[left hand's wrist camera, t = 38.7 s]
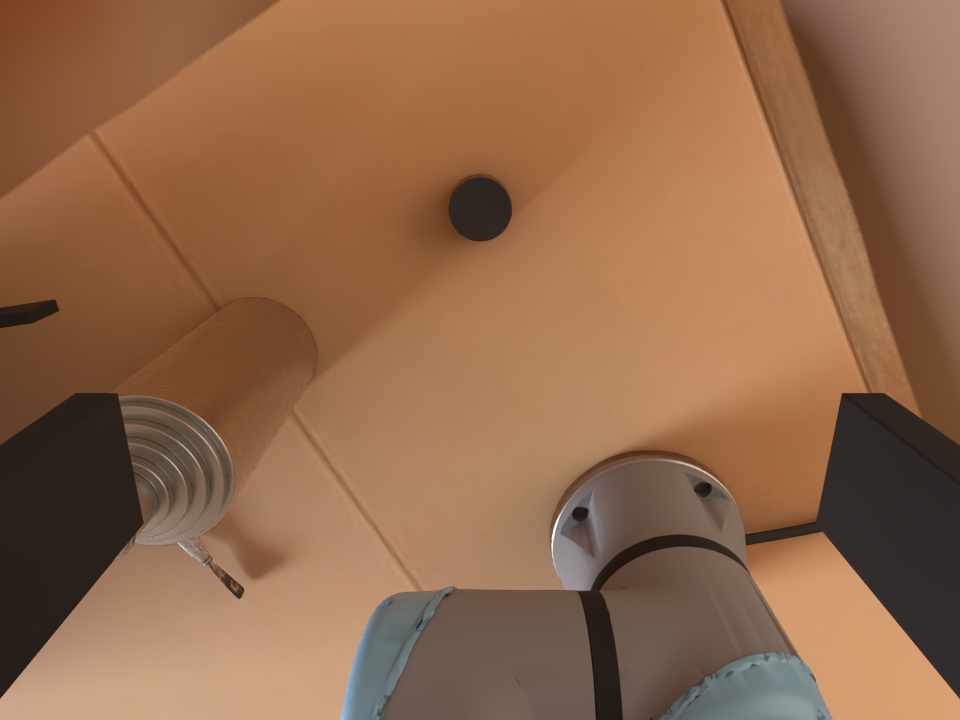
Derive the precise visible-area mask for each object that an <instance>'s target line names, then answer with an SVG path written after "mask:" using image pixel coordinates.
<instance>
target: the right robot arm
mask: <svg viewBox="0 0 960 720" xmlns="http://www.w3.org/2000/svg"><path fill="white" fill-rule="evenodd" d="M58 311H59V309H58V306H57V303H56V301H55V300H49V301H42V302H36V303H29V304H23V305H16V306H10V307H3V308H0V328H3V327H9V326H16V325H23V324H29V323H34V322H36V321H38V320H41V319H43V318H45V317H47V316H49V315H51V314H53V313H55V312H58Z"/></svg>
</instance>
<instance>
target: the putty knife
mask: <svg viewBox="0 0 960 720" xmlns="http://www.w3.org/2000/svg"><path fill="white" fill-rule="evenodd" d="M178 544H179V545H180V546H181V547H182V548H183V549H184V550H185V551H186V552H187V553H189V554H190V555H191V556H192V557H194V558H195V559H196V560H198V561H199V562H201V563H203V564H204V565H209V567H210V568H211V569H212V570H213V572H214V573H215V574H216V575H217V576H218V578H219V579H220V580H221V581H222V582H223V583H224V584H225V586H226V587H227V588H228V589H229V590H230V591H231V592H232V593H233V594H234V595H235V596H236V597H237V598H238V599H240V598H241V597H242V595H243V592H244V589H243V587H242V586H241V585H240V584H238V583H237V582H236V581H235V580H234V579H233V578H232V577H230V576H229V575H228V574H227V573H226V572H225V571H224V570H222V569H221V568H220V567H219V566H217V565H216V564H215V563H213V562H212V557H211V556H210V555H209V553H208V552H207V550H206V549H205V548H204V546H203V545H202V544H201V543H200V541H199V540H198V539H197V538H194V539H191V540H188V541H184V542H180V543H178Z"/></svg>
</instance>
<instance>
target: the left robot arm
mask: <svg viewBox="0 0 960 720" xmlns="http://www.w3.org/2000/svg"><path fill="white" fill-rule="evenodd" d="M143 524H144V521H143V516H142V511H141V506H140V501H139V496H138V491H137V486H136V481H135V476H134V471H133V466H132V461H131V456H130V451H129V446H128V441H127V436H126V431H125V426H124V421H123V416H122V411H121V406H120V401H119V396H118V393H75V394H74V395H72V396H71V397H70V398H68V399H67V400H65V401H64V402H62V403H61V404H59V405H58V406H57V407H55V408H54V409H52V410H51V411H49V412H48V413H46V414H45V415H43V416H42V417H41V418H39V419H38V420H36V421H35V422H33V423H32V424H30V425H29V426H28V427H26V428H25V429H23V430H22V431H20V432H19V433H17V434H16V435H15V436H13V437H12V438H10V439H9V440H7V441H6V442H4V443H3V444H2V445H0V698H1V697H2V696H3V695H4V694H5V692H6V691H7V690H8V689H9V687H10V686H11V685H12V684H13V683H14V681H15V680H16V679H17V678H18V676H19V675H20V674H21V673H22V672H23V670H24V669H25V668H26V667H27V665H28V664H29V663H30V662H31V661H32V659H33V658H34V657H35V656H36V654H37V653H38V652H39V651H40V650H41V648H42V647H43V646H44V645H45V644H46V642H47V641H48V640H49V639H50V637H51V636H52V635H53V634H54V633H55V631H56V630H57V629H58V628H59V626H60V625H61V624H62V623H63V622H64V620H65V619H66V618H67V617H68V615H69V614H70V613H71V612H72V611H73V609H74V608H75V607H76V606H77V605H78V603H79V602H80V601H81V600H82V598H83V597H84V596H85V595H86V594H87V592H88V591H89V590H90V589H91V587H92V586H93V585H94V584H95V583H96V581H97V580H98V579H99V578H100V576H101V575H102V574H103V573H104V572H105V570H106V569H107V568H108V567H109V565H110V564H111V563H112V562H113V561H114V559H115V558H116V557H117V556H118V555H119V553H120V552H121V551H122V550H123V548H124V547H125V546H126V545H127V544H128V542H129V541H130V540H131V539H132V537H133V536H134V535H135V534H136V533H137V531H138V530H139V529H140V528H141V526H142V525H143ZM818 532H823V533H824V534H825V535H826V536H827V537H828V539H829V540H830V541H831V542H832V544H833V545H834V546H835V547H836V548H837V550H838V551H839V552H840V553H841V555H842V556H843V557H844V558H845V559H846V561H847V562H848V563H849V564H850V565H851V567H852V568H853V569H854V570H855V572H856V573H857V574H858V575H859V576H860V578H861V579H862V580H863V581H864V583H865V584H866V585H867V586H868V587H869V589H870V590H871V591H872V592H873V594H874V595H875V596H876V597H877V598H878V600H879V601H880V602H881V603H882V605H883V606H884V607H885V608H886V609H887V611H888V612H889V613H890V614H891V615H892V617H893V618H894V619H895V620H896V622H897V623H898V624H899V625H900V626H901V628H902V629H903V630H904V631H905V633H906V634H907V635H908V636H909V637H910V639H911V640H912V641H913V642H914V644H915V645H916V646H917V647H918V648H919V650H920V651H921V652H922V653H923V655H924V656H925V657H926V658H927V659H928V661H929V662H930V663H931V664H932V665H933V667H934V668H935V669H936V670H937V672H938V673H939V674H940V675H941V676H942V678H943V679H944V680H945V681H946V683H947V684H948V685H949V686H950V687H951V689H952V690H953V691H954V692H955V694H956V695H957V696H958V697H959V698H960V445H958V444H957V443H956V442H954V441H953V440H951V439H950V438H948V437H947V436H945V435H944V434H942V433H941V432H940V431H938V430H937V429H935V428H934V427H932V426H931V425H930V424H928V423H927V422H925V421H924V420H922V419H921V418H919V417H918V416H917V415H915V414H914V413H912V412H911V411H909V410H908V409H906V408H905V407H903V406H902V405H901V404H899V403H898V402H896V401H895V400H893V399H892V398H890V397H889V396H888V395H886V394H885V393H842V396H841V401H840V406H839V411H838V416H837V421H836V426H835V431H834V436H833V441H832V446H831V451H830V456H829V461H828V466H827V471H826V476H825V481H824V486H823V491H822V496H821V501H820V506H819V511H818V516H817V521H816V522H814V523H809V524H803V525H798V526H792V527H787V528H781V529H775V530H769V531H764V532H758V533H752V534H746V535H745V530H744V525H743V521H742V517H741V513H740V510H739V508H738V506H737V504H736V502H735V500H734V499H733V497H732V495H731V494H730V492H729V491H728V489H727V488H726V486H725V485H724V484H723V482H722V481H721V480H720V479H719V478H718V477H717V476H716V475H715V474H714V473H713V472H712V471H711V470H709V469H708V468H707V467H705V466H704V465H702V464H701V463H699V462H697V461H695V460H693V459H690V458H688V457H685V456H682V455H679V454H675V453H670V452H663V451H639V452H632V453H627V454H623V455H619V456H616V457H613V458H610V459H608V460H606V461H604V462H601V463H599V464H598V465H596V466H594V467H592V468H591V469H589V470H588V471H586V472H585V473H584V474H583V475H581V476H580V477H579V478H578V479H577V480H576V481H575V482H574V483H573V484H572V485H571V486H570V487H569V488H568V489H567V491H566V492H565V493H564V495H563V496H562V498H561V499H560V501H559V503H558V505H557V507H556V509H555V512H554V515H553V518H552V522H551V528H550V546H551V552H552V558H553V564H554V567H555V570H556V573H557V575H558V577H559V579H560V581H561V583H562V585H563V587H564V588H565V590H471V589H457V588H455V587H446V588H444V589H442V590H437V591H419V592H402V593H397V594H394V595H392V596H390V597H388V598H387V599H385V600H384V601H383V602H382V603H381V604H380V605H379V606H378V607H377V608H376V610H375V611H374V613H373V614H372V616H371V617H370V619H369V621H368V623H367V625H366V627H365V629H364V632H363V634H362V637H361V639H360V642H359V645H358V648H357V651H356V654H355V658H354V661H353V665H352V668H351V672H350V676H349V680H348V684H347V688H346V693H345V698H344V703H343V708H342V713H341V719H340V720H833V719H832V717H831V715H830V712H829V710H828V708H827V706H826V704H825V702H824V700H823V698H822V696H821V693H820V691H819V689H818V686H817V683H816V679H815V677H814V675H813V673H812V671H811V670H810V668H809V667H808V666H807V665H806V664H805V663H804V662H803V660H801V658H800V656H799V655H798V653H797V651H796V650H795V648H794V646H793V645H792V643H791V641H790V640H789V638H788V636H787V635H786V633H785V631H784V630H783V628H782V626H781V625H780V623H779V621H778V620H777V618H776V616H775V615H774V613H773V611H772V610H771V608H770V606H769V605H768V603H767V601H766V600H765V598H764V596H763V595H762V593H761V591H760V590H759V588H758V586H757V585H756V583H755V581H754V580H753V578H752V577H751V575H750V573H749V571H748V566H747V554H746V545H751V544H757V543H763V542H769V541H774V540H780V539H786V538H791V537H797V536H802V535H808V534H813V533H818Z"/></svg>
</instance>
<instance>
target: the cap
mask: <svg viewBox="0 0 960 720" xmlns="http://www.w3.org/2000/svg"><path fill="white" fill-rule="evenodd" d="M511 215H512V204H511V200H510V197H509V194H508V192H507V190H506V188H505V187H504V185H503V184H502V183H501V182H500V181H499V180H497V179H496V178H494V177H492V176H489V175H484V174H477V175H472V176H469V177H467V178H465V179H464V180H462V181H461V182H460V183H459V184H458V185H457V186H456V188H455V189H454V191H453V193H452V196H451V199H450V203H449V216H450V219H451V222H452V224H453V226H454V228H455V229H456V230H457V231H458V232H459V233H460V234H461V235H462V236H464V237H466V238H467V239H470V240H474V241H488V240H491V239H493V238H495V237H497V236H499V235H500V234H501V233H502V232H503V231H504V230H505V229H506V227H507V226H508V224H509V222H510V219H511Z"/></svg>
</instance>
